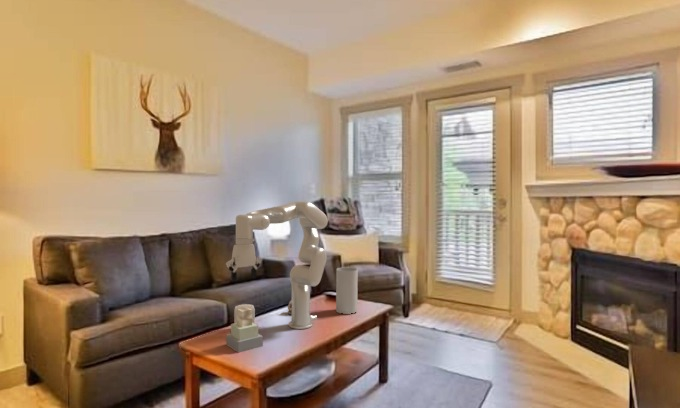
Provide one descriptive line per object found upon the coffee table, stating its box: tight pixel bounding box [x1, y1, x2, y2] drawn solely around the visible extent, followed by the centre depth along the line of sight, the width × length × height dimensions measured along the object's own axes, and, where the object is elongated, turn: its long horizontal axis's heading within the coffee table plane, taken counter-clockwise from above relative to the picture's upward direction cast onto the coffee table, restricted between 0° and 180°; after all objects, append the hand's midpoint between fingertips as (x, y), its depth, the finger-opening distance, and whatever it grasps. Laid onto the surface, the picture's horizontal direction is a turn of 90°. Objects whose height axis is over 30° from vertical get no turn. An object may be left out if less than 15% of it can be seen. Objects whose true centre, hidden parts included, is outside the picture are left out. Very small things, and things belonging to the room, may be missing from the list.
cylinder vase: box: [335, 266, 359, 315], centre depth 245 cm, size 12×12×25 cm
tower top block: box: [230, 322, 259, 341], centre depth 189 cm, size 9×9×5 cm
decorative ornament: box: [287, 299, 292, 315], centre depth 240 cm, size 8×8×15 cm
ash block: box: [237, 307, 252, 327], centre depth 189 cm, size 5×5×7 cm
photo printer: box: [233, 303, 256, 324], centre depth 213 cm, size 10×4×12 cm, turn 104°
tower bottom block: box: [225, 333, 264, 354], centre depth 189 cm, size 12×12×5 cm
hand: (244, 279), depth 190 cm, fingers open, 9 cm apart
